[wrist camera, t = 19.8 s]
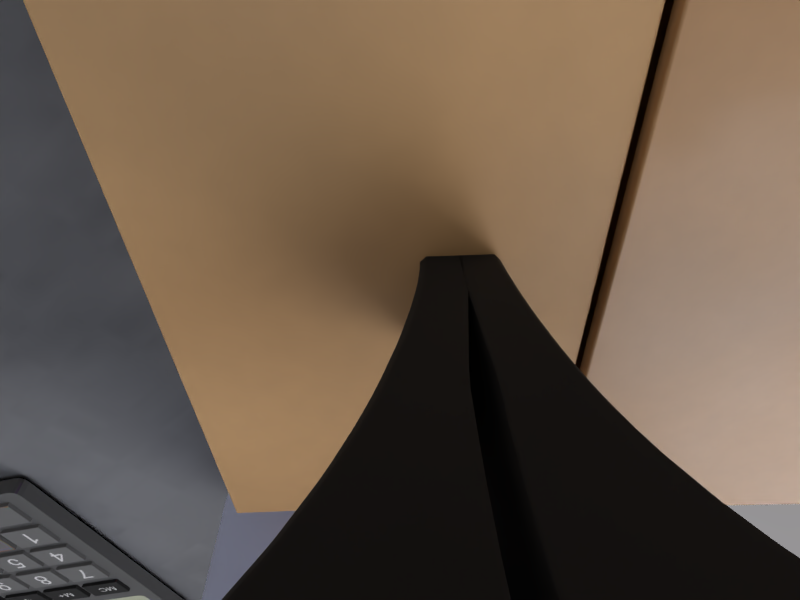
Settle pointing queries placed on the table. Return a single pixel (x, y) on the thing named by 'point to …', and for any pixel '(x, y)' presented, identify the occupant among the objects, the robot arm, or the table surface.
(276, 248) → the flap
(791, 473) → the carton
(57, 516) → the calculator
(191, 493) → the table surface
